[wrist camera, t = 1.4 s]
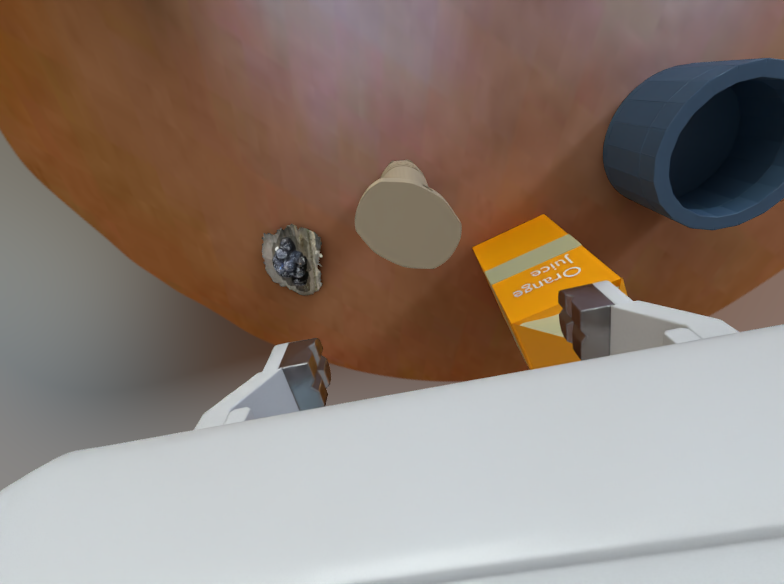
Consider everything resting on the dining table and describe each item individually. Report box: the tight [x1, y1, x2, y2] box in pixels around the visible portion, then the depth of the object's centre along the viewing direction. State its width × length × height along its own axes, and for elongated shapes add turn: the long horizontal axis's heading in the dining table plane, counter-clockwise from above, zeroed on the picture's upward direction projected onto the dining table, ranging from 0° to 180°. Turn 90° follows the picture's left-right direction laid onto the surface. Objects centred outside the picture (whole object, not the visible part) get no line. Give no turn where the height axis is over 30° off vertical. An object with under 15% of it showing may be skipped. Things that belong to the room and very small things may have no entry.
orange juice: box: [472, 214, 627, 370], centre depth 33 cm, size 8×9×20 cm
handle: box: [355, 160, 462, 269], centre depth 31 cm, size 5×6×15 cm
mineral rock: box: [262, 224, 323, 295], centre depth 40 cm, size 7×8×2 cm
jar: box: [603, 58, 784, 230], centre depth 33 cm, size 12×12×8 cm
